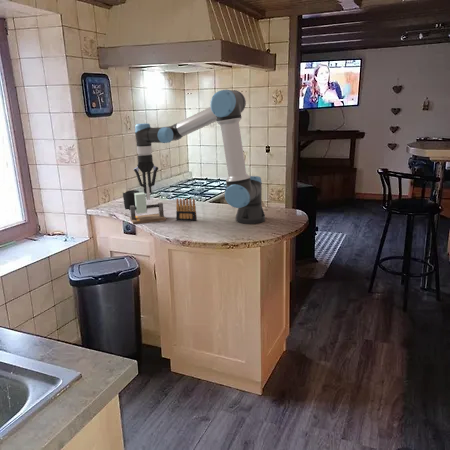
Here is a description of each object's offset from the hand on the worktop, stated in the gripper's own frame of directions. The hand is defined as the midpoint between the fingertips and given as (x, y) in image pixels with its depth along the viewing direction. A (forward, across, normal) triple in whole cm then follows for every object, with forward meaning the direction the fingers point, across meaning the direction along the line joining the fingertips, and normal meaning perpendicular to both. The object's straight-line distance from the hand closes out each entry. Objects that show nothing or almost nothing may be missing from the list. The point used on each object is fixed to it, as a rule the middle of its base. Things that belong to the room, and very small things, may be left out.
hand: (148, 199), depth 228 cm
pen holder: (+11, +5, -31) cm, 33 cm away
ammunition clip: (+11, -17, +11) cm, 23 cm away
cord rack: (+11, +1, 0) cm, 11 cm away
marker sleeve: (+7, +4, 0) cm, 8 cm away
